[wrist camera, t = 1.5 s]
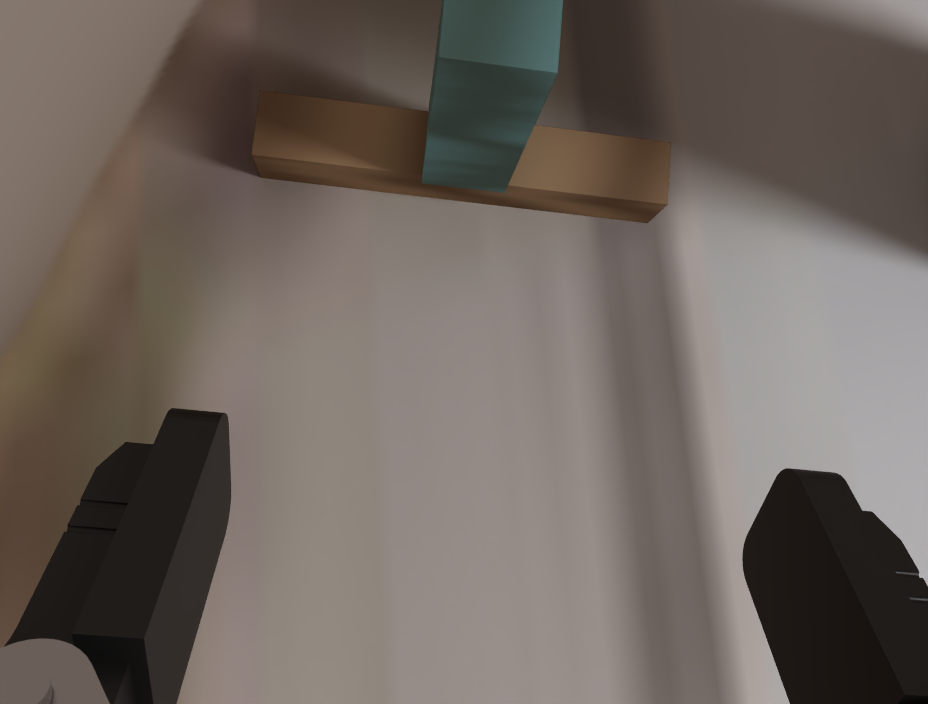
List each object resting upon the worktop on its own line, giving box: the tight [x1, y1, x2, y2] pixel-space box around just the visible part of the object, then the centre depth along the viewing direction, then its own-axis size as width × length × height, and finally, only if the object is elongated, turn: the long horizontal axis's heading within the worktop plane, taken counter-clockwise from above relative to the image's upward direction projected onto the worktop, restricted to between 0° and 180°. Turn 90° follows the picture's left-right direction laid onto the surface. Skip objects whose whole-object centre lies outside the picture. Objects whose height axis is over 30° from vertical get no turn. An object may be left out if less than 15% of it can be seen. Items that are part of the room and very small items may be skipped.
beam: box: [251, 0, 671, 223], centre depth 26 cm, size 15×3×11 cm, turn 85°
